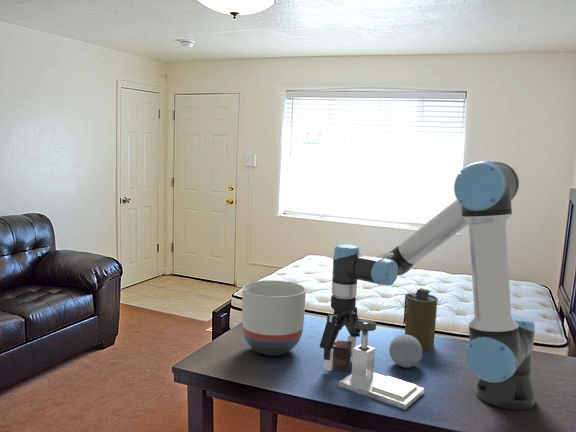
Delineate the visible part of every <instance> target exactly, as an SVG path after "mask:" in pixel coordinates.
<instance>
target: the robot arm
mask: <svg viewBox="0 0 576 432" xmlns="http://www.w3.org/2000/svg"><path fill="white" fill-rule="evenodd" d="M519 188H520V181H519V175H518V174H517V172H516V171H515V169H514V168H512V167H511V166H510V165H508V164H506V163H504V162H500V161H489V160H481V161H477V162H473V163H470V164H468V165H466V166H465V167H463V168H462V169H461V170H460V171H459V173H458V174H457V176H456V177H455V180H454V184H453V191H454V195H455V197H456V200H454V201H453V202H451V204H449V205H448V206H446V207H445V208H444V209H442V210H441V211H440V212H439V213H437V214H436V215H435V216H434V217H433V218H431V219H430V220H429V221H427V222H426V223H425V224H424V225H422V226H421V227H420V228H418V229H417V230H416V231H414V232H413V233H412V234H411V235H409V236H408V237H407V238H406V239H404V240H403V241H402V242H400V244H397V246H396V247H394V248H393V249H391V251H389V252H386V253H383V254H380V255H376V256H373V255H365V254H362V253H360V247H358V246H357V245H354V244H350V243H349V244H348V243H347V244H345V243H343V244H337V245H335V247H334V251H333V258H332V262H333V263H332V282H331V297H330V298H331V299H330V308H331V309H332V310H333V314H332V315H331V314H327V315H326V316H327V317H326V323H325V327H324V330H323V333H322V337H321V339H320V343H319V348H320V349H323V363H322V364H323V365H322V366H323V367H322V368H323V370H327V371H330V372H332V371H333V369H332V366H333V349H332V347H333V344H334V342H335V340H337V337H338V334H339V333H340V331H341V330H342V329H343V327H345V328H346V330H347V332H348V333H349V335H347V341H349V342H351V358H352V357H353V348H355V347H357V338H359V337H360V336H361V333H362V330H358V329H356V328H355V321H356V320H359V316H358V307H356V306H357V305H356V304H357V297H356V296H357V288H358V281H364V282H367V283H372V284H375V285H378V286H392V285H393V284H394V282H396V280H397V278H398V276H402V275H405V274H406V273H408V272H409V271H411V269H412V267H413V266H414V265H416V264H417V263H418V262H420V261H421V260H422V259H424V258H425V257H427V256H428V255H430V254H431V253H433V251H435V250H436V249H437V248H439V247H440V246H442V245H443V244H445V243H446V242H447V241H448V240H450V239H451V238H452V237H454V236H455V235H457V234H458V233H459V232H460V231H462V230H464V229H465V228H466V227H468V230H469V231H468V232H469V248H470V262H471V263H470V265H471V266H470V267H471V278H472V279H471V280H472V281H471V283H472V295H473V296H472V298H473V313H474V316H473V318H472V319H471V321H469V322H468V333H469V335H468V336H469V342H468V343H467V344H466V347H465V350H464V361H465V364H466V366H467V367H468V369H469V371H470V372H471V373H472V374H474V375H475V376H476V377H477V378H478V379H477V381H476V383H475V395H476V396H477V397H478V398H479V399H480V400H482V401H484V402H485V403H487V404H490V405H491V406H493V407H497V408H501V409H504V410H511V411H512V410H513V411H525V410H530V409H532V408H533V407H534V406H535V405H536V392H535V388H534V385H533V380H532V376H531V370H532V361H533V360H532V359H533V351H534V341H535V340H534V339H535V334H536V331H535V330H536V327H535V326H536V324H535V322H534V321H533V320H531V319H530V318H527V317H524V316H519V315H516V314H515V315H514V314H512V306H511V290H510V289H511V288H510V275H509V274H510V272H509V258H508V257H509V256H508V255H509V253H508V239H507V221H508V219H510V218H511V216H512V214H513V213H512V212H513V209H512V201H513V199H514V198H515V197H516V196H517V194H518V192H519Z"/></svg>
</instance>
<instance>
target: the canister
mask: <svg viewBox="0 0 576 432" xmlns="http://www.w3.org/2000/svg"><path fill="white" fill-rule="evenodd" d="M431 292H432V291H431V290H430V289H427V288H426V289H425V288H421V287H420V288H418V289H417V290H416V292H414V293H412V292H411V293H410V292H407V293H406V294H405V295H404V309H403V310H404V311H403V325H405V326H404V327H405V329H404V334H406V335H411V336H413V337H414V338H416V339H417V340H418V341H419V343H420V345H421V347H422V352H430V351H432V350H434V349H435V334H436V321H437V310H438V309H437V308H438V300H439V299H438V297H437V296H435V295H432V294H430V293H431Z"/></svg>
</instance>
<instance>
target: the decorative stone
mask: <svg viewBox="0 0 576 432" xmlns="http://www.w3.org/2000/svg"><path fill="white" fill-rule="evenodd" d="M388 349H389V356H390V358H391V361H392V362H393V363H394V364H396V365H397V366H399V367H402V368H407V369H408V368H412V367H414V366H416V365H418V363H419V362H420V361H421V359H422V356H423V351H422V347H421V345H420V343H419V341H418V340H417V339H416V338H414V337H413V336H411V335H406V334H405V333H404V334H403V333H402V334H399V335H397V336H396V337H394V338H393V339H392V340H391V342H390V344H389V348H388Z"/></svg>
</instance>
